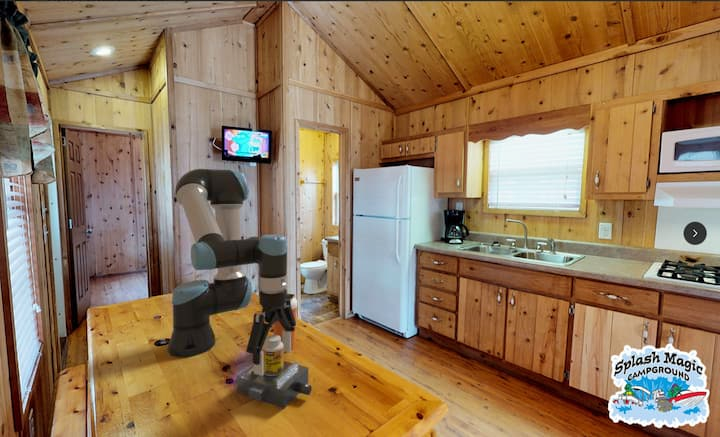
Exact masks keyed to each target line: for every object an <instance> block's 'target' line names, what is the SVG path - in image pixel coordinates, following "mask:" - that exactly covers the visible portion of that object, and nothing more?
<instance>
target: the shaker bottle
mask: <svg viewBox="0 0 720 437" xmlns="http://www.w3.org/2000/svg"><path fill="white" fill-rule="evenodd" d="M295 296H296V295H295V294H293V293H287V300H290V301H291V309H292V312H293V315H294V318H295V321H296V322H297V308H298V300H297V298H296V297H295ZM293 327H295V330H294V331H291V351H293V350H294V349H295V347H296V346H295V345H296V329H297V328H296V327H297V325H296V326H293ZM283 330H285V329H284V328H283V327H282V325H281V324H280V322H279V321H276V322H275V323H274V324H273V335H279V336H280V337H281V342H282V331H283Z"/></svg>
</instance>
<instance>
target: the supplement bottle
mask: <svg viewBox="0 0 720 437" xmlns="http://www.w3.org/2000/svg"><path fill="white" fill-rule="evenodd" d="M263 352H264V373H265V375H267V376H276V375H279V374H280V373H281V372H282V371H283V361H284V352H283V343H282V342H281V337H280V336H279V335H274V334H272V335H267V337H266V340H265V343H264V345H263Z"/></svg>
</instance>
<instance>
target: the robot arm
mask: <svg viewBox="0 0 720 437" xmlns="http://www.w3.org/2000/svg"><path fill="white" fill-rule="evenodd" d="M174 195H175V198H176V200H177V202H178V204H179V205H181V206H182V208H183V210H184V214H185V218H186V219H187V222H188V225H189V228H190V231H191V233H192V237H193V240H194V243H193V244H191V247H190V260H191V265H192V268H193V269H194V270H196V271H207V270H212V271H213V270H216V269H217V273H216V274H215V275H214V276H213V282H211V283H210V282H209V281H208V280H206V279H196V280H191V281H188V282H187V281H186V282H183V283H182V284H180V285H178V286H176V287H175V288H174V289H173V290H172V297H171V298H172V299H171V305H172V327H173V328H172V329H173V330H172V332H171V335H170V340H169V342H168V344H167V349H168V350H167V352H168V354H169V355H171V356H173V357H178V358H179V357H181V358H186V357H192V356H196V355H201V354H203V353H205V352H208V351H209V350H210V349H212V348H213V347H215V345H216V335H215V333H214V331H213V328H212V325H211V324H210V317H211V316H214V315H218V314H223V313H227V312H232V311H238V310H241V309H244V308H246V307H248V306H249V304H250V303H251V301H252V297H253V285H252V281H251V279H250V278H249V277H248V276H247V275H246V273H245V272H244V271H243V270H242V266H243V265H244V266H245V265H251V264H257V265H258V266H259V269H258V271H259V272H258V274H259V276H258V286H259V287H258V289H259V296H258V297H259V304H260V306H261V307H262V308H261V309H262V310H261V312H260V313H254V314H253V323H252V327H251V331H250V335H249V338H248V341H247V342H248V343H247V345H246V350H245V352H246V353H248V354H252V365H253V364H254V374H257V375H261V376H262V375H263V374H264V350H263V349H264V345H265V343H266V339H267V337H268V336H269V335H268V333H269V332H270V329H272V328H273V327H274V323H275V322H276V321H279V322H280V324H281V325H282V327H283V328H284V329H285V330H283V331H282V343H283V353H288V354H291V353H292V350H291V331H294V330H295V327H293V326H296V327H297V320H296V321H295V318H294V315H293V312H292V309H291V301H290V300H287V294H288V290H287V288H288V287H287V286H288V285H287V284H288V283H287V281H288V279H287V273H288V272H287V271H288V267H287V266H288V264H287V263H288V244H287V243H288V242H287V237H286V236H284V235H283V234H273V233H272V234H264V235H261V236H250V237H248V238H243V239H241V225H240V223H241V222H240V209H241V208H242V207H243V206H244V202H245V201H247V200H248V198H249V185H248V182H247V179H246V177H245V175H244V174H243V173H242V172H241V171H237V170H231V169H207V168H197V169H196V168H195V169H193V170H189V171H187V172H186V173H184V174H183V175H182V176H181V177H180V178H179V180H178V181H177V183H176V186H175V191H174ZM209 201H210V202H209ZM212 208H213V210H214V212H213V210H212ZM214 213H215V214H214ZM295 331H296V330H295Z"/></svg>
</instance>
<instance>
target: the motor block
mask: <svg viewBox="0 0 720 437" xmlns="http://www.w3.org/2000/svg"><path fill="white" fill-rule="evenodd" d="M312 389H313V388H312V385H311V384H310V385H309V367H308V366H305V365H300V364H299V362H298V361H294V362H289V361H285V360H283V371H282V372H281V373H280V374H279V375H276V376H267V375H265V373H264V374H263V375H262V376H261V375H257V374H254V364H253V363H252V365H250V366H249V367H248V368H246V369H245V370H243V371H242V372H241V373H240V374H238V375H237V376H236V393H237V394H239V395H242V396H245V397H247V398H249V399H252V400H256V401H258V402H263V403H265V404H270V405H272V406H275V407H278V408H281V409H286V408H287V406H288V405H290V404H291V402H292V401H294V399H295V398H296V397H297V396H298V395H299V394H303V395H306V396H310V395H311V392H312V391H313V390H312Z"/></svg>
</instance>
